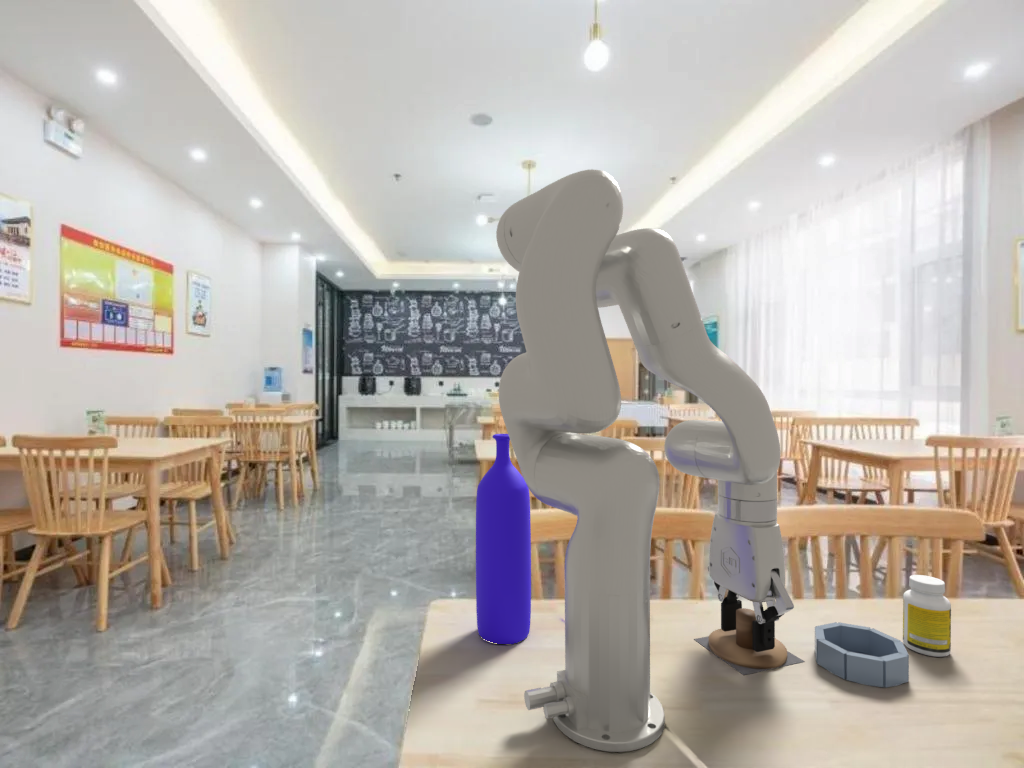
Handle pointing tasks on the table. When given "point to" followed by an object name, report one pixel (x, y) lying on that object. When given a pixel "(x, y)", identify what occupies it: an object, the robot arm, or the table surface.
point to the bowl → (861, 654)
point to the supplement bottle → (927, 617)
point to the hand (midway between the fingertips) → (746, 637)
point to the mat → (744, 670)
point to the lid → (745, 645)
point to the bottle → (503, 551)
